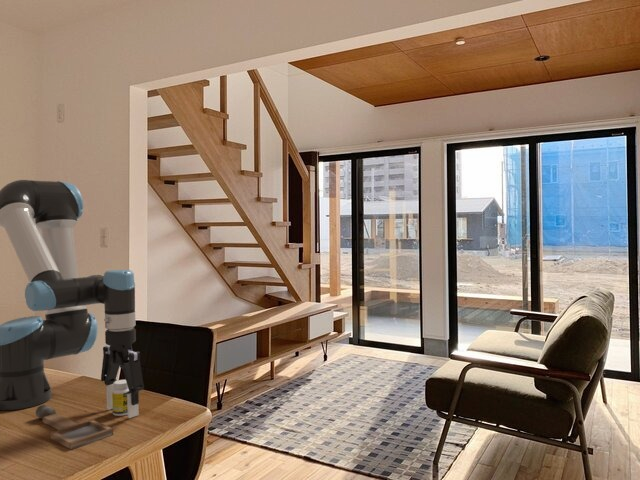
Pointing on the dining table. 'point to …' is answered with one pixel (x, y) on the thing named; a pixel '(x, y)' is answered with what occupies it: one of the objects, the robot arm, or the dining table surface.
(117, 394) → the supplement bottle
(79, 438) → the wooden tray with handle
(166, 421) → the dining table surface
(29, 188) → the robot arm
